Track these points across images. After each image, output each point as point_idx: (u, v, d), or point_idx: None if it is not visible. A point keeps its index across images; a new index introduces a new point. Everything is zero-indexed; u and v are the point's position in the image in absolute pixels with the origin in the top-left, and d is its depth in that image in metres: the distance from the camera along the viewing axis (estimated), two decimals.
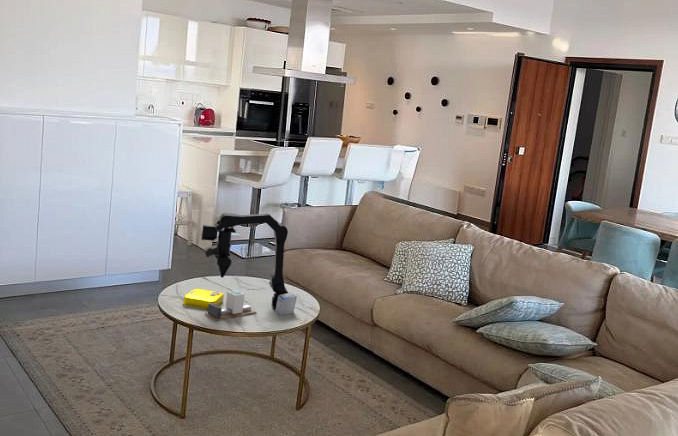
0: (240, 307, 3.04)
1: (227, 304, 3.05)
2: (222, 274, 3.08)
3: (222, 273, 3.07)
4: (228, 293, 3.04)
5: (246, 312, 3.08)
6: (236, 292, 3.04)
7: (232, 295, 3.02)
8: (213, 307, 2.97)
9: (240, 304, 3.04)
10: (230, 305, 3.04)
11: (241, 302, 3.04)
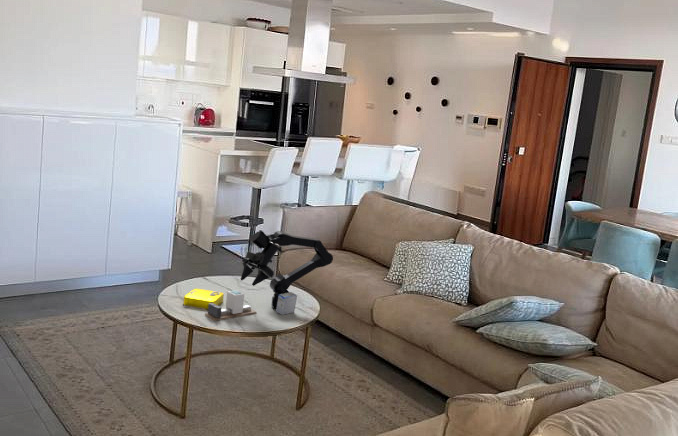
0: (240, 307, 3.04)
1: (227, 304, 3.05)
2: (255, 282, 3.06)
3: (255, 281, 3.06)
4: (228, 293, 3.04)
5: (246, 312, 3.08)
6: (236, 292, 3.04)
7: (232, 295, 3.02)
8: (213, 307, 2.97)
9: (240, 304, 3.04)
10: (230, 305, 3.04)
11: (241, 302, 3.04)
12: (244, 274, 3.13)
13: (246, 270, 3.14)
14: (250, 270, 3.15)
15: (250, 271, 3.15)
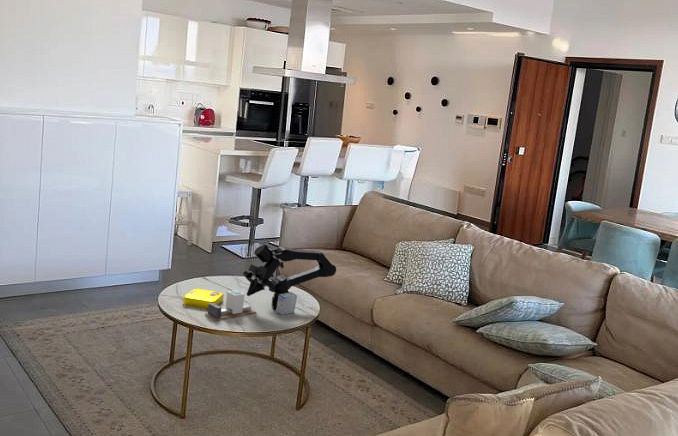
0: (240, 307, 3.04)
1: (227, 304, 3.05)
2: (250, 293, 3.10)
3: (250, 292, 3.10)
4: (228, 293, 3.04)
5: (246, 312, 3.08)
6: (236, 292, 3.04)
7: (232, 295, 3.02)
8: (213, 307, 2.97)
9: (240, 304, 3.04)
10: (230, 305, 3.04)
11: (241, 302, 3.04)
12: None
13: None
14: None
15: None
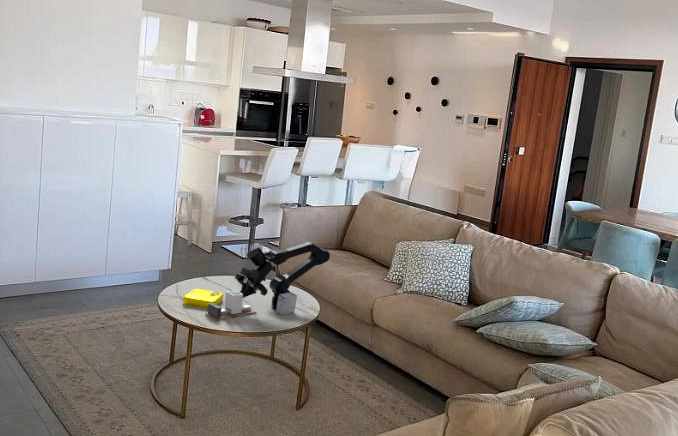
0: (239, 307, 3.04)
1: (226, 304, 3.05)
2: None
3: None
4: (227, 293, 3.04)
5: (246, 312, 3.08)
6: (235, 292, 3.04)
7: (231, 295, 3.02)
8: (213, 307, 2.97)
9: (238, 304, 3.03)
10: (229, 305, 3.03)
11: (239, 303, 3.04)
12: (242, 293, 3.08)
13: (244, 289, 3.08)
14: None
15: None
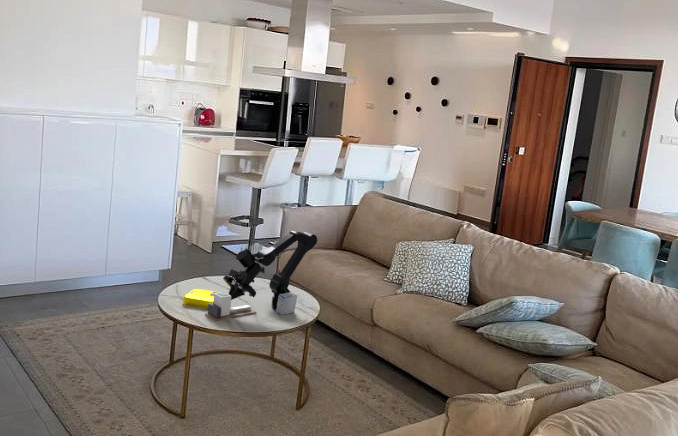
0: (227, 309, 3.00)
1: None
2: None
3: None
4: (215, 295, 2.99)
5: (246, 312, 3.08)
6: (223, 294, 2.99)
7: (219, 297, 2.97)
8: (213, 307, 2.97)
9: (227, 306, 2.99)
10: None
11: (228, 305, 2.99)
12: None
13: None
14: None
15: None
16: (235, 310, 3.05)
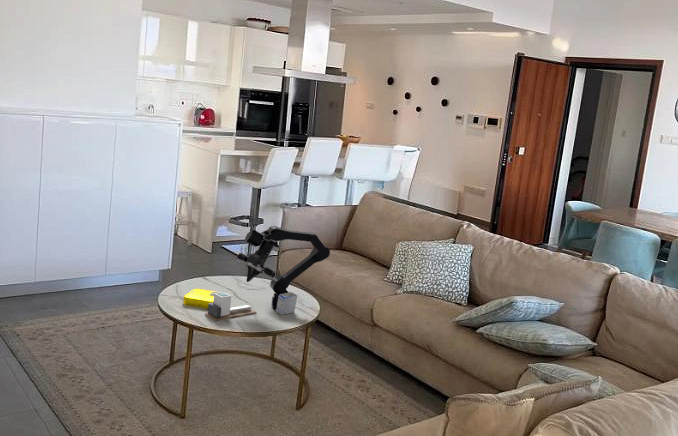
0: (227, 309, 3.00)
1: None
2: (250, 279, 3.13)
3: (250, 278, 3.12)
4: (215, 295, 2.99)
5: (246, 312, 3.08)
6: (223, 294, 2.99)
7: (219, 297, 2.97)
8: (213, 307, 2.97)
9: (227, 306, 2.99)
10: None
11: (228, 305, 2.99)
12: None
13: (251, 271, 3.13)
14: (253, 269, 3.15)
15: (253, 270, 3.15)
16: (235, 310, 3.05)
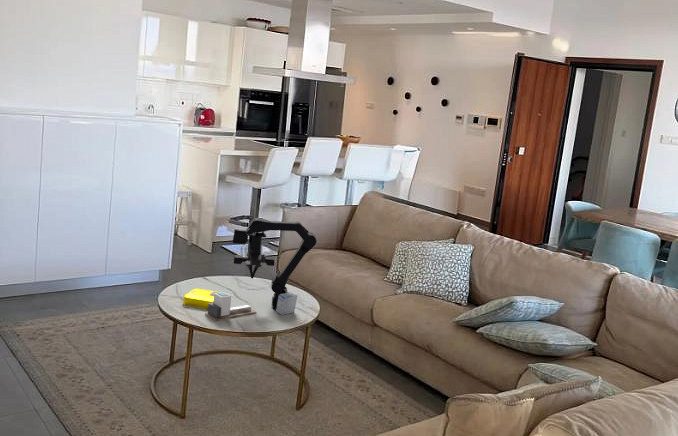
0: (227, 309, 3.00)
1: None
2: None
3: None
4: (215, 295, 2.99)
5: (246, 312, 3.08)
6: (223, 294, 2.99)
7: (219, 297, 2.97)
8: (213, 307, 2.97)
9: (227, 306, 2.99)
10: None
11: (228, 305, 2.99)
12: (252, 272, 3.18)
13: None
14: None
15: None
16: (235, 310, 3.05)
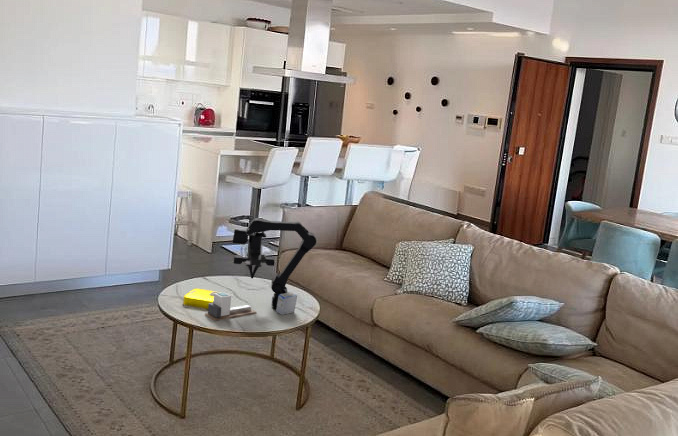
0: (227, 309, 3.00)
1: None
2: None
3: None
4: (215, 295, 2.99)
5: (246, 312, 3.08)
6: (223, 294, 2.99)
7: (219, 297, 2.97)
8: (213, 307, 2.97)
9: (227, 306, 2.99)
10: None
11: (228, 305, 2.99)
12: (252, 272, 3.18)
13: (251, 268, 3.17)
14: None
15: None
16: (235, 310, 3.05)
